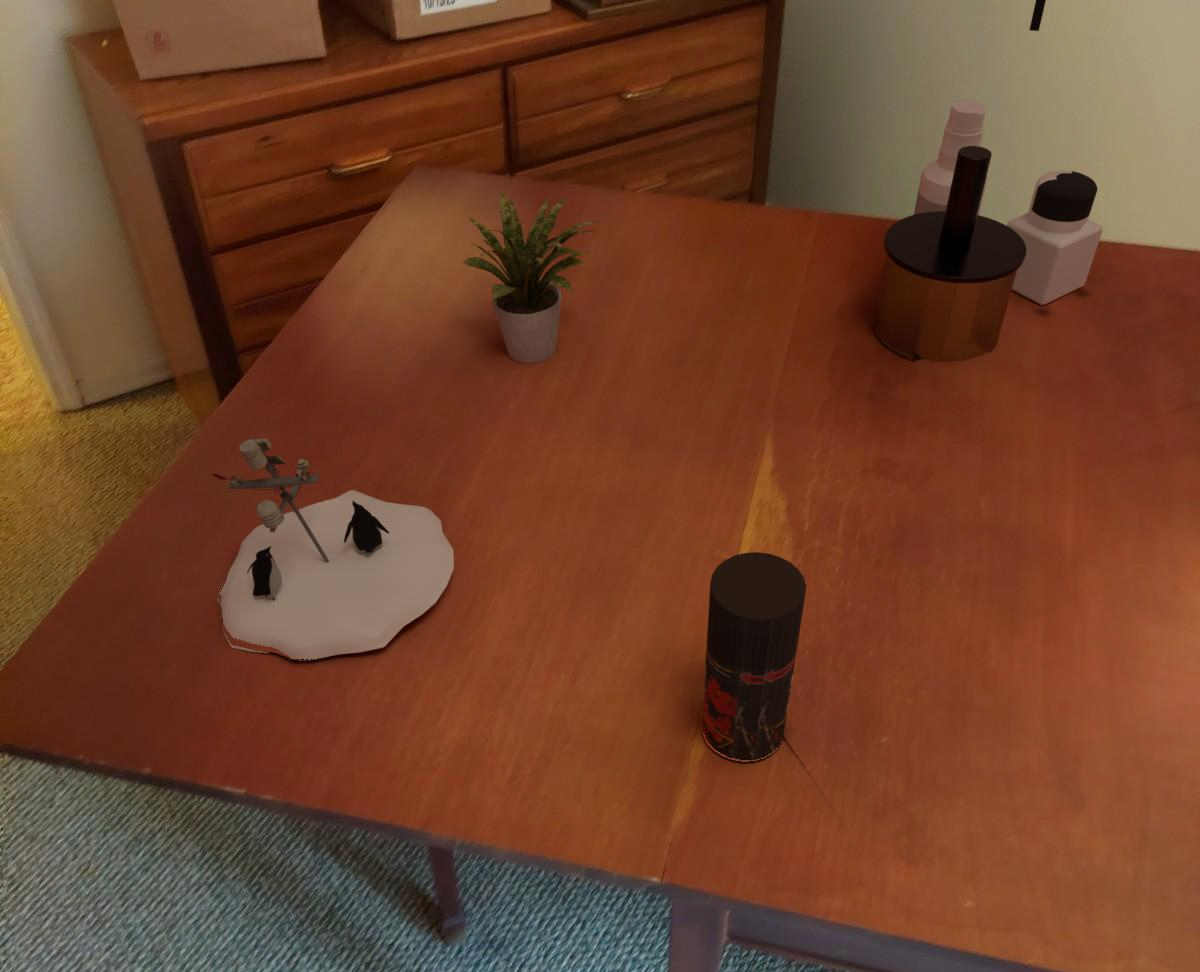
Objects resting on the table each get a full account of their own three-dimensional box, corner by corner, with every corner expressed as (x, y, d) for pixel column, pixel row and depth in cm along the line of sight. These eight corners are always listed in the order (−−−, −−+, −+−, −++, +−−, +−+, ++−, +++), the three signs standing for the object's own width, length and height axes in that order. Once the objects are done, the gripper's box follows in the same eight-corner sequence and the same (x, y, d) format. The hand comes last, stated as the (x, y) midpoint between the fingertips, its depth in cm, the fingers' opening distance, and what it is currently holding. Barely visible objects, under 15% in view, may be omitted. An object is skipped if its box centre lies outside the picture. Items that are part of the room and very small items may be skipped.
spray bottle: (919, 247, 125) (950, 88, 112) (974, 263, 122) (1013, 101, 109) (894, 272, 121) (923, 111, 108) (951, 289, 118) (988, 125, 105)
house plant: (571, 406, 105) (561, 253, 93) (444, 383, 109) (419, 233, 97) (616, 330, 114) (612, 183, 103) (497, 312, 118) (481, 167, 106)
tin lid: (1053, 268, 103) (1084, 165, 96) (937, 302, 100) (960, 197, 92) (965, 211, 112) (987, 112, 105) (856, 240, 108) (871, 139, 101)
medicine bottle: (1085, 286, 118) (1120, 181, 109) (1042, 307, 115) (1074, 200, 106) (1033, 261, 122) (1063, 157, 113) (990, 280, 119) (1018, 175, 111)
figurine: (447, 486, 95) (398, 332, 83) (465, 636, 83) (410, 481, 71) (228, 533, 95) (148, 385, 83) (213, 691, 83) (116, 544, 71)
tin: (1022, 346, 110) (1047, 262, 103) (921, 378, 107) (940, 293, 100) (947, 290, 118) (966, 208, 111) (851, 318, 115) (864, 235, 108)
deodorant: (794, 756, 75) (818, 612, 64) (712, 769, 75) (723, 626, 64) (771, 692, 79) (790, 546, 69) (693, 704, 79) (700, 559, 68)
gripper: (1019, -293, 74) (960, 35, 89) (1431, -300, 67) (1292, 57, 82) (1028, -307, 79) (971, 7, 94) (1413, -315, 72) (1285, 25, 87)
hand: (1121, 31), depth 88 cm, fingers open, 13 cm apart
